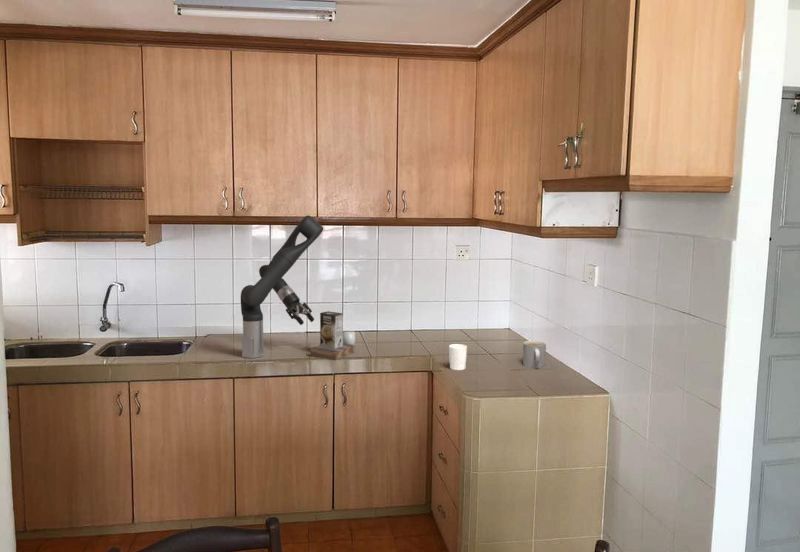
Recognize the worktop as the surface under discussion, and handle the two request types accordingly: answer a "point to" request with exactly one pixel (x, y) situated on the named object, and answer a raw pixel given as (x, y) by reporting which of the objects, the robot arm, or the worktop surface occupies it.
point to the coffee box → (331, 329)
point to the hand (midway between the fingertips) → (307, 322)
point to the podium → (332, 351)
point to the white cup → (457, 356)
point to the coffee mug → (534, 354)
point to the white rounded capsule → (349, 337)
